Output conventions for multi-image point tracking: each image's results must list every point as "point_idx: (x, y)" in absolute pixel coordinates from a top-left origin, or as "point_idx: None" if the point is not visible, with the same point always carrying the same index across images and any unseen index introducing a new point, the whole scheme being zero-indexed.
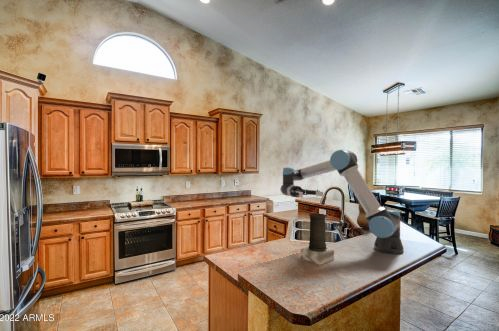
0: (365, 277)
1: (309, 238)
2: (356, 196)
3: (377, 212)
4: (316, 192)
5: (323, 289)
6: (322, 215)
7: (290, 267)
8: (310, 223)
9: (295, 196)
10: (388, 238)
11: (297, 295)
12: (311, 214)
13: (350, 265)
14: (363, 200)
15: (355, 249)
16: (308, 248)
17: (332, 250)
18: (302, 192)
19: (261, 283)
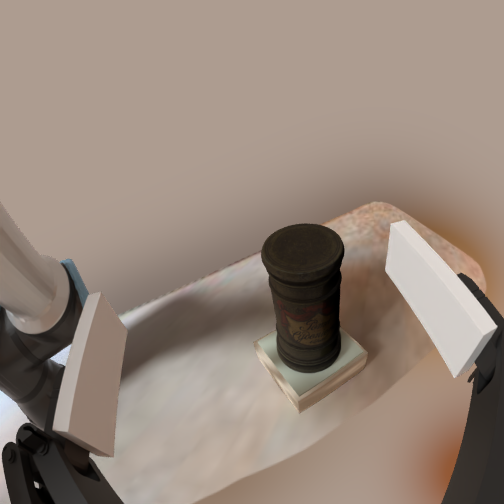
0: (243, 272)
1: (339, 326)
2: (10, 262)
3: (56, 260)
4: (86, 424)
5: (341, 237)
6: (283, 234)
7: (398, 304)
8: (340, 272)
9: (472, 374)
10: (49, 360)
11: (382, 224)
12: (333, 246)
13: (235, 321)
14: (32, 251)
15: (128, 430)
16: (340, 352)
17: (258, 341)
18: (395, 223)
19: (440, 245)
